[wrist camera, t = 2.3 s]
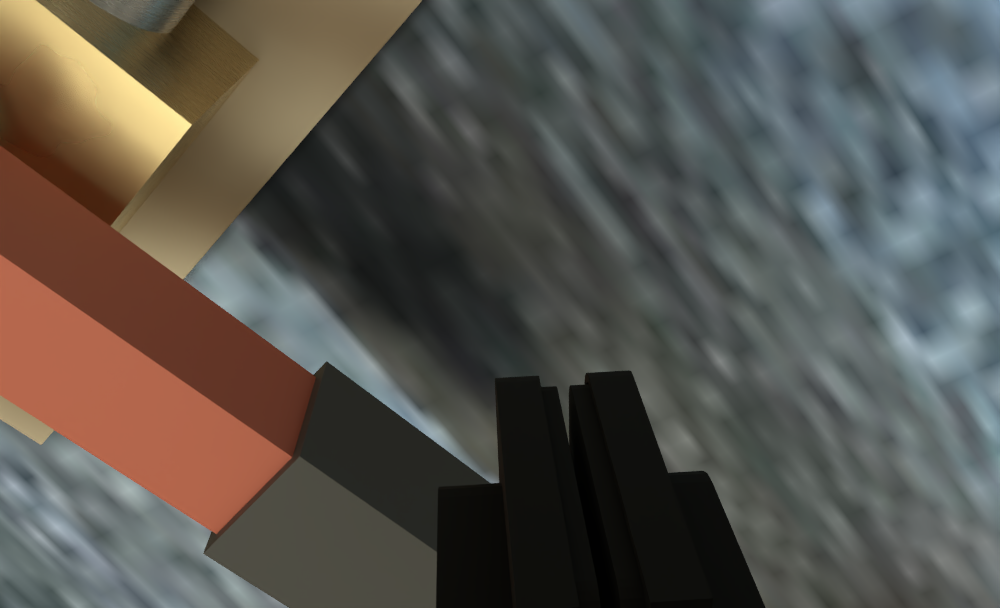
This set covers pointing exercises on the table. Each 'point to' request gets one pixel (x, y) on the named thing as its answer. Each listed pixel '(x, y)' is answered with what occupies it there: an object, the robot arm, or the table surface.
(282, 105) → the mounting board
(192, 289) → the valve lever
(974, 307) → the table surface
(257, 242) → the table surface
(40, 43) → the pipe valve
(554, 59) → the table surface
